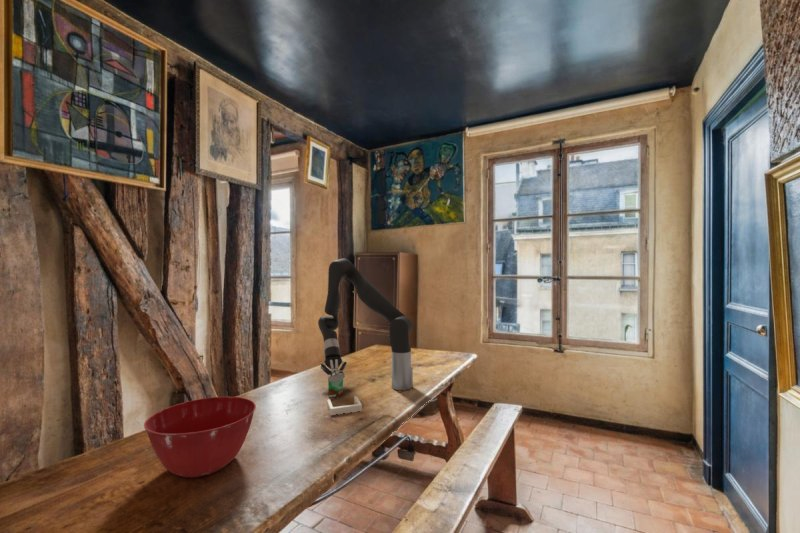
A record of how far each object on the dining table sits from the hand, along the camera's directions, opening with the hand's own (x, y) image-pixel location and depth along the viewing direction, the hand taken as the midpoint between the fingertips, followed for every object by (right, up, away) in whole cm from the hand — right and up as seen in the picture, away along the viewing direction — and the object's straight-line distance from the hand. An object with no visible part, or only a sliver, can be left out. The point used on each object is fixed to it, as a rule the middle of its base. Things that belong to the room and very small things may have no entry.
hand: (335, 381), depth 172 cm
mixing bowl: (-27, -5, -64) cm, 70 cm away
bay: (+7, -4, -22) cm, 24 cm away
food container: (+2, -4, -7) cm, 8 cm away
